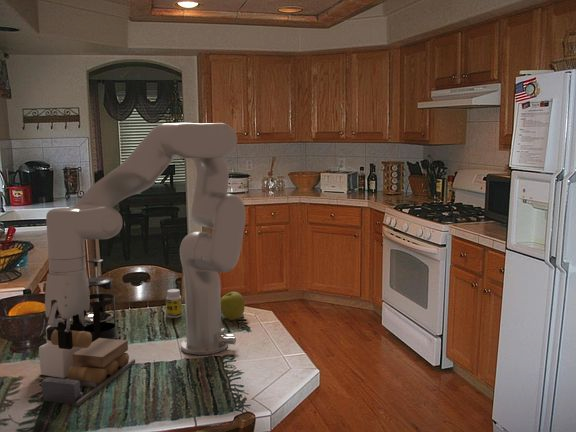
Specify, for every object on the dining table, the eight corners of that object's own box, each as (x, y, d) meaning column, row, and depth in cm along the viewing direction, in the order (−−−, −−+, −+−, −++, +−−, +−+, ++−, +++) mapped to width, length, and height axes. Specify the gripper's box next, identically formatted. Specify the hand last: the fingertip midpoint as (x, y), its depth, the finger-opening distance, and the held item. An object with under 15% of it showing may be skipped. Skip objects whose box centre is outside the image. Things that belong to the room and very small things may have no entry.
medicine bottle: (84, 367, 139) (81, 320, 138) (64, 378, 133) (60, 330, 131) (60, 363, 142) (57, 318, 140) (40, 375, 135) (36, 327, 133)
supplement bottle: (164, 317, 177) (163, 292, 176) (170, 313, 182) (169, 288, 181) (178, 318, 176) (177, 292, 175) (184, 313, 181) (183, 288, 180)
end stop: (80, 400, 121) (79, 380, 121) (75, 404, 120) (74, 384, 119) (49, 396, 123) (47, 377, 123) (43, 400, 121) (41, 381, 121)
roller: (51, 347, 124) (50, 332, 123) (61, 341, 127) (60, 326, 127) (83, 350, 122) (82, 335, 121) (92, 344, 125) (91, 329, 125)
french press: (115, 343, 155) (110, 262, 152) (79, 346, 153) (74, 264, 150) (119, 329, 166) (115, 254, 163) (86, 331, 165) (82, 255, 162)
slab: (128, 349, 140) (127, 340, 140) (103, 367, 130) (102, 357, 129) (99, 347, 142) (99, 337, 142) (73, 364, 132) (72, 354, 131)
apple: (250, 311, 180) (246, 284, 176) (240, 325, 173) (235, 298, 169) (228, 308, 182) (223, 282, 178) (217, 323, 176) (212, 296, 172)
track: (135, 362, 142) (134, 349, 141) (77, 406, 119) (76, 390, 118) (100, 359, 144) (99, 346, 144) (37, 401, 121) (36, 385, 121)
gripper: (75, 256, 131) (79, 331, 133) (26, 271, 115) (31, 357, 117) (103, 258, 129) (107, 334, 132) (58, 274, 113) (62, 360, 116)
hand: (71, 344), depth 124 cm, fingers closed on roller, 3 cm apart
